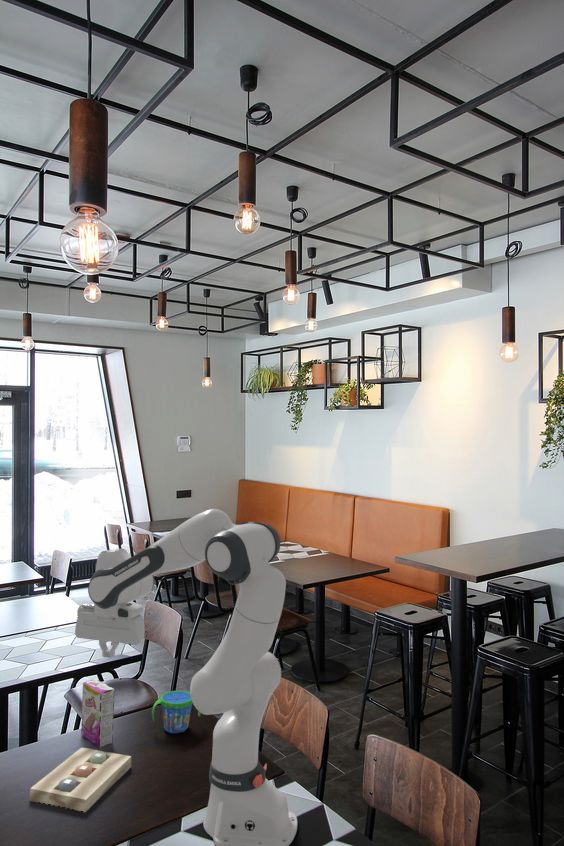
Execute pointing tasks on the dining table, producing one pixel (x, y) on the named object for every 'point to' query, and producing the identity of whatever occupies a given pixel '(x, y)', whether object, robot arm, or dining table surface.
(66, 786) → the slate button
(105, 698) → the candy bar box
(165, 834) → the dining table surface
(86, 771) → the pink rounded knob
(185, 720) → the snack cup
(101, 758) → the sage button
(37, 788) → the button board
